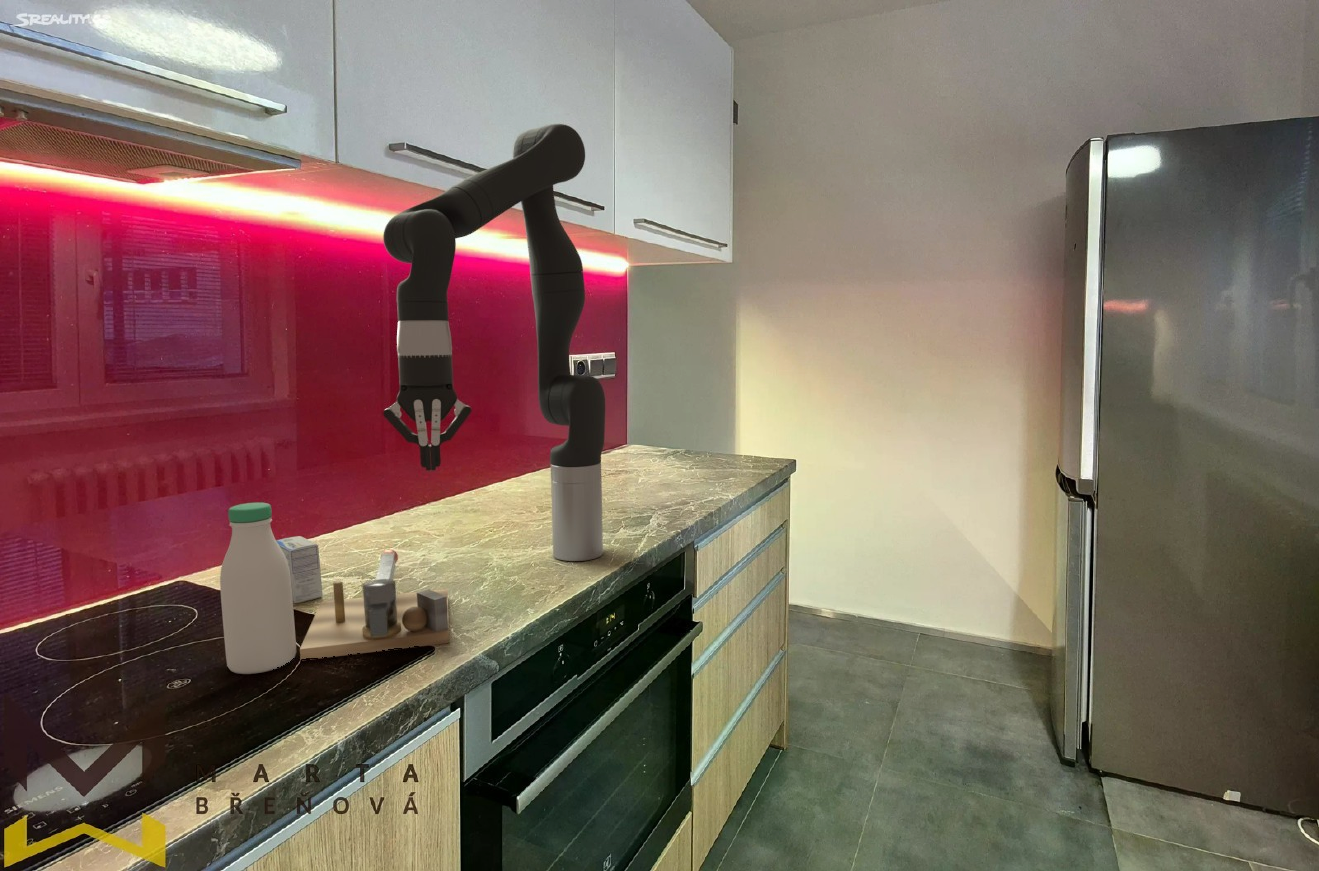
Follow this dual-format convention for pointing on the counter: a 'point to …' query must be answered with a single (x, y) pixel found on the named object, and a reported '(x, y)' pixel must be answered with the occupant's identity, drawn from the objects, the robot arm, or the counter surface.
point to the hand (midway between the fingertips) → (430, 470)
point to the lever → (381, 597)
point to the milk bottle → (256, 594)
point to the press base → (346, 632)
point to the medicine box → (303, 568)
